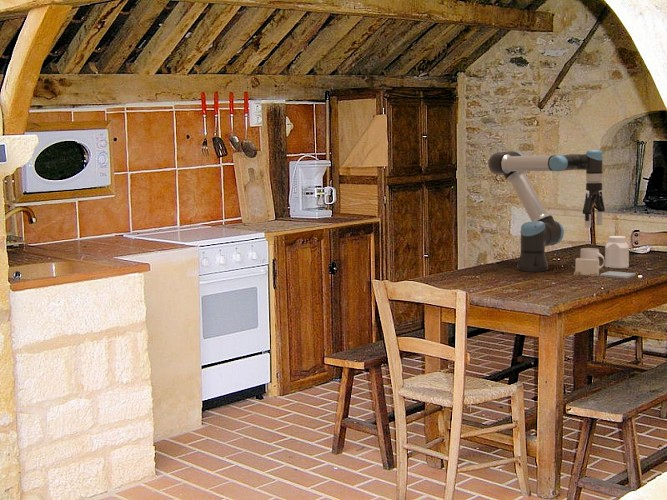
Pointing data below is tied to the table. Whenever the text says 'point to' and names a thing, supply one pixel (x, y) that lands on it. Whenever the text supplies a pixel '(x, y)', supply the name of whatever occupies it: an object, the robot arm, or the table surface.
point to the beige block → (587, 267)
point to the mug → (591, 254)
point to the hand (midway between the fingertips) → (593, 226)
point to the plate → (618, 274)
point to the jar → (617, 252)
